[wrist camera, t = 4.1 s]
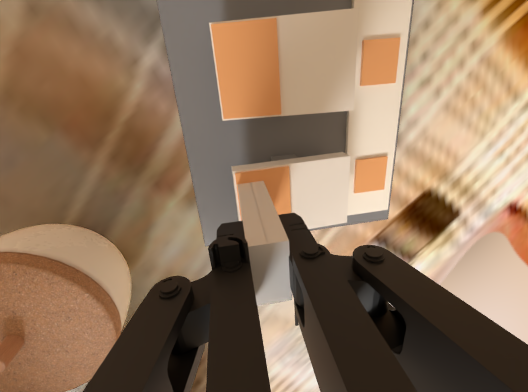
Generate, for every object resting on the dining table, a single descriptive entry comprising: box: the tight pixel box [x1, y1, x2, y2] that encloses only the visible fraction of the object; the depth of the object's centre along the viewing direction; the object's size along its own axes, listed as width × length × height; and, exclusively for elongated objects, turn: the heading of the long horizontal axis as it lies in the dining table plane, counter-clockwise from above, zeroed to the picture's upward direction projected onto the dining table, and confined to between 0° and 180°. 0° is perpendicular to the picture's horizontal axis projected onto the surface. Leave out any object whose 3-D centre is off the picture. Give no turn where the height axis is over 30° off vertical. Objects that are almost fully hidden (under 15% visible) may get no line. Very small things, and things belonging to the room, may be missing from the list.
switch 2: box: [231, 152, 350, 229], centre depth 16 cm, size 4×7×1 cm, turn 95°
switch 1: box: [209, 8, 359, 121], centre depth 13 cm, size 4×7×1 cm, turn 95°
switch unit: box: [157, 0, 414, 246], centre depth 17 cm, size 22×14×5 cm, turn 5°
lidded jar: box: [0, 224, 132, 392], centre depth 18 cm, size 11×11×9 cm
